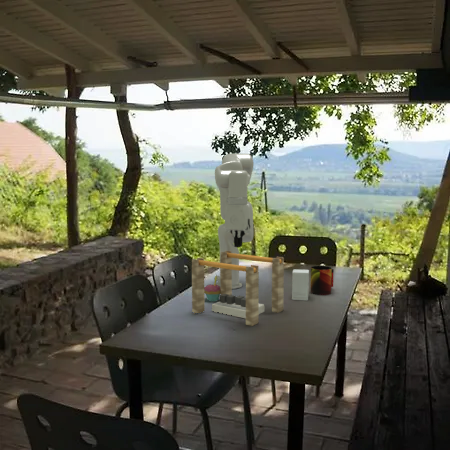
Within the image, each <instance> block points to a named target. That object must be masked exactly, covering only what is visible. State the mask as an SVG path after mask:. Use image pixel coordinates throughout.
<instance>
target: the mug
mask: <svg viewBox="0 0 450 450" xmlns="http://www.w3.org/2000/svg"><path fill="white" fill-rule="evenodd" d="M334 272H335V271H334V269H333V268H332V267H330V266H328V265H313V266H311V267H310V283H309V284H310V285H309V287H310V288H309V290H310V294H312V295H315V296H329V295H331V294H332V288H334Z"/></svg>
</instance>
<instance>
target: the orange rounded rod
mask: <svg viewBox="0 0 450 450" xmlns="http://www.w3.org/2000/svg"><path fill="white" fill-rule="evenodd" d="M199 265H203V266H204V267H211V268H219V269H220V268H224V269H231V270H238V271H239V272H245V273H246V267H247V265H240V264H239V265H233V264H225V263H220V262H218V261H217V262H216V261H209V260H204V261H203V260H199ZM254 272H256V268H254Z"/></svg>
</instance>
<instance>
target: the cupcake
mask: <svg viewBox="0 0 450 450" xmlns="http://www.w3.org/2000/svg"><path fill="white" fill-rule="evenodd" d="M217 276H218V275H217V274H215V277H214V278H215V280H214V283H213V284H207V285H205V286H204V295H205V296H206V299H207V301H208V300H210V301H209V302H217V301H216V300H218V301H219V300H220V295H221V287H220V286H218V285H217V281H216V279H217Z"/></svg>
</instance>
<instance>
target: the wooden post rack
mask: <svg viewBox="0 0 450 450" xmlns="http://www.w3.org/2000/svg"><path fill="white" fill-rule="evenodd" d="M227 253H231V251H225V252H221V257H220V256H219V263H225V264H232V258H230V257H227ZM271 258H272V263H271V312H272V313H276V314H278V313H281V312H283V311H284V290H285V289H284V284H285V283H284V279H285V278H284V277H285V276H284V275H285V263H284V260H285V258H284V257H283V256H276V257H271ZM280 259H281V261H282V262H281V263H280ZM199 260H203V261H205V258H204V257H197V258H193V259H191V296H192V297H191V310H192V311H191V313H192V312H194V313H193V314H195V313H200V312H202V313H204V312H203V311H205V309H206V307H205V304H206V302H205V301H206V300H205V296H206V295H205V293H204V288H205V266H203V265H199ZM246 266H247V265H246ZM254 268H256V272H254ZM259 273H260V271H259V265H256V264H255V265H254V264H251V265H250V266H247V267H246V272H245V298H246V318H245V325H246V326H250V327H253V326H255V325H257V324H259V315H260V314H259V304H260V303H259V300H260V298H259V296H260V295H259V291H260V290H259V280H260V279H259V278H260V277H259ZM219 276H220V280H221V294H220V295H222V294H229V295H233V291H232V290H233V289H232V270H231V269H224V268H219ZM200 314H201V313H200Z"/></svg>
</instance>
